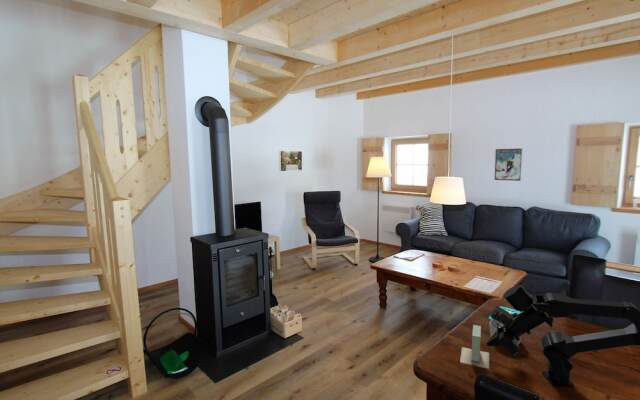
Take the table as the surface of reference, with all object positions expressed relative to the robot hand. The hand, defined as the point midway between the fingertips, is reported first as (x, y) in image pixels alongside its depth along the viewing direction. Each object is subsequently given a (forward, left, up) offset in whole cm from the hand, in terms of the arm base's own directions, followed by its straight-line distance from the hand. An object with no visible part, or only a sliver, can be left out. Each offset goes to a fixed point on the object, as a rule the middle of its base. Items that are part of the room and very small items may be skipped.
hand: (487, 344), depth 118 cm
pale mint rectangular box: (+1, +3, -6) cm, 7 cm away
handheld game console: (+35, -23, -8) cm, 43 cm away
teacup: (+14, -13, -7) cm, 21 cm away
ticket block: (+2, +4, -7) cm, 9 cm away
